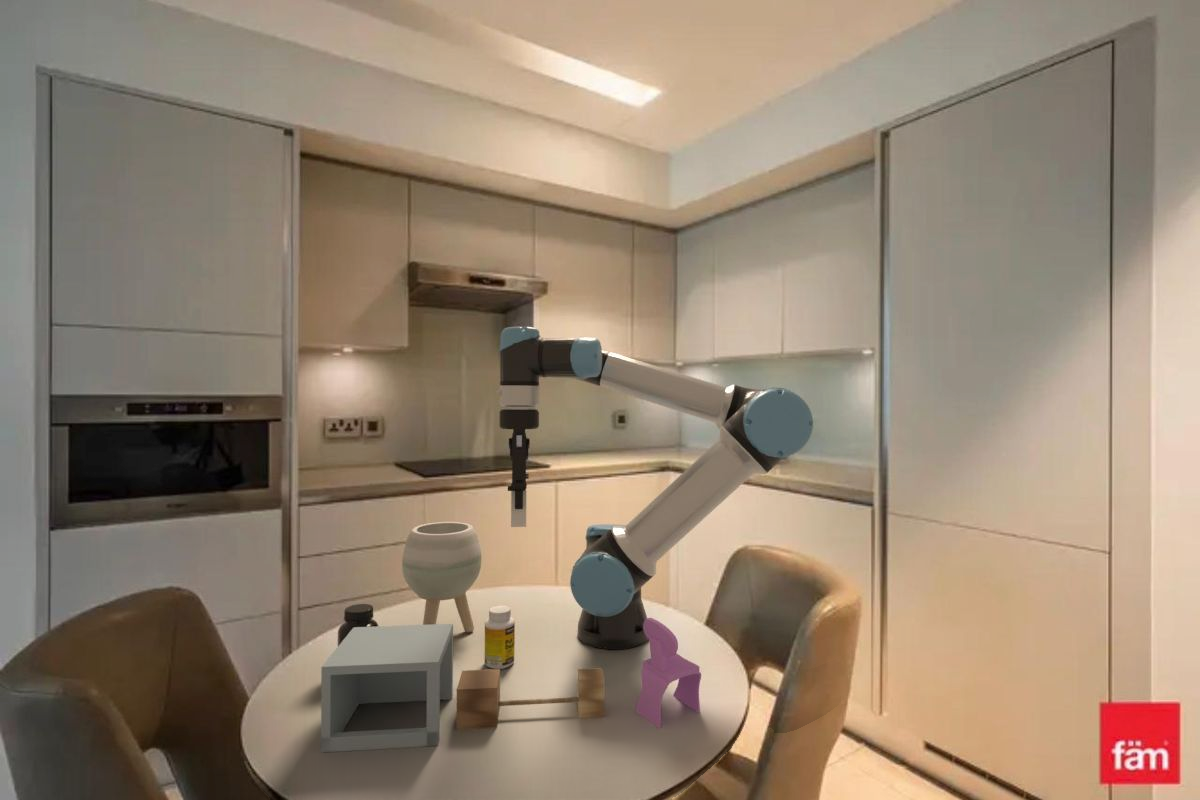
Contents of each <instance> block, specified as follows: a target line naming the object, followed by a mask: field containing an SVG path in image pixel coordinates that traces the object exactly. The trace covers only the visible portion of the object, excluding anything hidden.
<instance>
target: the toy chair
mask: <svg viewBox="0 0 1200 800" xmlns="http://www.w3.org/2000/svg"><path fill="white" fill-rule="evenodd" d="M643 630H644V633H645V635H646V636H647V638H648V640H649V641H648V642H649V652H650V658H648V659H644V660H643V661H642V664H643V665H642V667H641V670H640V674H641V675H640V676H641V692H640V696H639V699H638V701H637V703H636V706H635V709H634V710H635V711H636V712H638V713H639V714H640V715H641V716H643V718H645V719H647V720H648V721H649V722H651V723H652V724H653V725H654V726H656V727H657V728H658V729H660V728H662V717H661V716H662V715H661V714H662V713H661V710H662V709H661V708H662V707H661V706H662V700H663V698H664V695H665V693H666V690H667V689H668V686H669V685H670V684H671V683H673V682H676V681H677V680H678V683H677V686H676V689H675V690H674V692H673V694H672V696H673V697H674V698H676V699H678V700H679V701H680V702H682V703H683V704H684V705H686V706H687V707H689V708H690V709H692V710H694V711H695V712H697V713H701V706H700V684H701V680H702V673H701V672H700V666H699V665H698V664H696V663H694V662H692V661H690V660H688V659H686V658H684V657H683V656H681V655H680V654H679V653H677V652H678V650H679V642H678V638H677V637H676V635H675V634H674V632H673V631H671V630H670V628H669V627H667V626H666V625H665V624H663V623H662V622H660V621H659V620H657V619H656V618H655V619H654V618H652V617H647V619H646V620H645V621H644V623H643Z"/></svg>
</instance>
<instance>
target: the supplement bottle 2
mask: <svg viewBox="0 0 1200 800" xmlns="http://www.w3.org/2000/svg"><path fill="white" fill-rule="evenodd" d="M488 611H489V613H488V618H487V619H486V620H485V622H484V665H485V666H486V667H488V668H489V669H500V670H501V669H507V668H509V667H511V666H512V665H513V664H514V662H515V644H516V643H515V642H516V641H515V632H516V631H515V626H516V625H515V624H516V622H515V618H513V617H512V616H511V615H512V612H511V611H512V610H511V607H509V606H507V605H496V606H495V605H494V606H493V607H491V608H489V610H488Z"/></svg>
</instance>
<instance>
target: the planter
mask: <svg viewBox="0 0 1200 800" xmlns="http://www.w3.org/2000/svg"><path fill="white" fill-rule="evenodd" d="M479 539H480V538H479V537H478V533H477V531H476V530H475V528H474V527H473V525H472V524H469V523H466V522H459V521H441V522H439V521H438V522H437V521H436V522H429V523H425V524H424V523H423V524H420V525H418V526H414V527H413V528H412V529H411V531H410V532H409V534H408V537H407V540H406V542H405V545H404V548H403V552H402V563H401V564H402V565H401V567H402V575H403V578H404V581H405V583H406V584H407V585H408V587H409V589H410V590H412V592H413V593H415V594H416V595H417V596H418V597H419V598H420V599H423V600H425V605H424V613H423V619H422V621H423V622H422V625H431V624H437V620H438V615H439V609H440V605H441V603H440V602H441V601H448V600H454V603H455V607H456V609H457V613H458V615H459V618H460V622H461V624H462V627H463V631H464V632H466V633H472V632H473V631H474V630H475V625H474V620H473V618H472V615H471V614H472V613H471V610H470V605H469V602H468V598H467V595H466V593H467V592H468V590H469V589H470V588H471V587H472V586H473V585H474V584H475V582H476V580H477V579H478V577H479V575H480V572H481V569H482V549H481V544H480V540H479Z"/></svg>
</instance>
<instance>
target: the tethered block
mask: <svg viewBox="0 0 1200 800" xmlns="http://www.w3.org/2000/svg"><path fill="white" fill-rule="evenodd" d="M605 681H606V680H605V676H604V670H603V667H599V668H595V667H594V668H579V669H578V668H577V696H574V697H573V696H570V697H556V698H555V697H553V698H535V699H534V698H533V699H515V700H513V699H512V700H511V699H510V700H501V669H492V668H490V669H474V670H473V669H472V670H469V669H467V670H462V671H461V674H460V677H459V681H458V683H457V688H456V730H467V729H469V730H470V729H486V728H487V729H490V728H498V723H499V715H500V708H501V707H506V706H525V705H528V706H529V705H543V704H544V705H545V704H564V703H565V704H566V703H567V704H568V703H569V704H570V703H577V713H578V719H588V718H592V719H593V718H604V717H605V697H606V695H605V689H606V688H605Z"/></svg>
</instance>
